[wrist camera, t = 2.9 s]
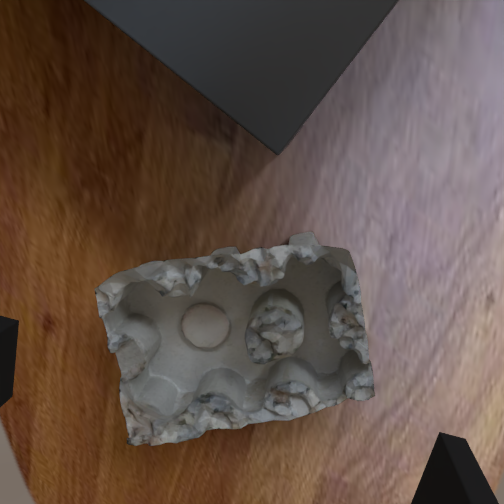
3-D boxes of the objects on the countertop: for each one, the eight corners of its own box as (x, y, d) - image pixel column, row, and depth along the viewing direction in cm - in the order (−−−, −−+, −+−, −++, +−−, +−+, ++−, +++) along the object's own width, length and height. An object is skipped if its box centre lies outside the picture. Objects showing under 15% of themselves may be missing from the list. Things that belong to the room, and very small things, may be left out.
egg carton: (148, 397, 22) (115, 454, 19) (113, 251, 21) (68, 280, 17) (369, 380, 21) (383, 438, 17) (352, 219, 19) (363, 244, 15)
